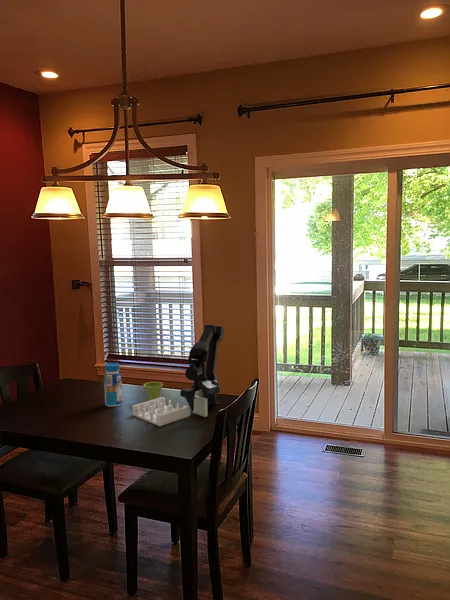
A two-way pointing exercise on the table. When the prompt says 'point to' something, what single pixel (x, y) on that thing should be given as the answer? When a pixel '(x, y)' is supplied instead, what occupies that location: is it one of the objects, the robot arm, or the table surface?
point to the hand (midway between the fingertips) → (200, 407)
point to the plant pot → (153, 390)
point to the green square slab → (200, 406)
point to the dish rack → (160, 411)
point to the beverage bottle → (112, 385)
